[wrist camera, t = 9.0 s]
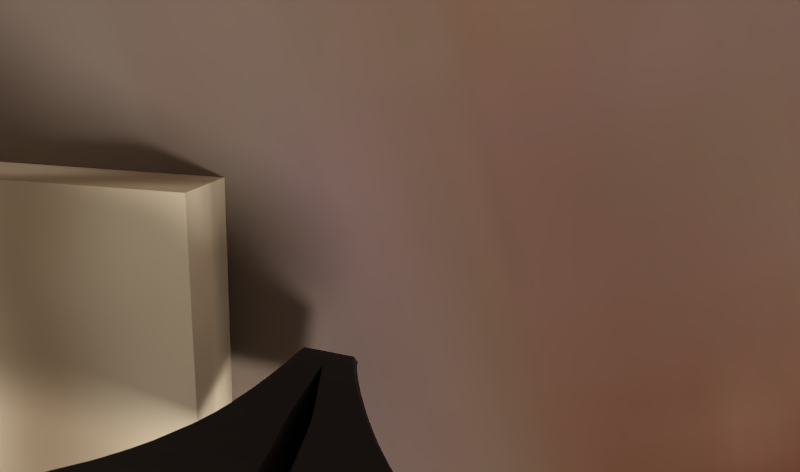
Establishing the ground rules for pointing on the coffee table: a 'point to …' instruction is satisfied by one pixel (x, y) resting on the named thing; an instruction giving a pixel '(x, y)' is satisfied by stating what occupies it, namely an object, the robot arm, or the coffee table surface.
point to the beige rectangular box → (108, 310)
